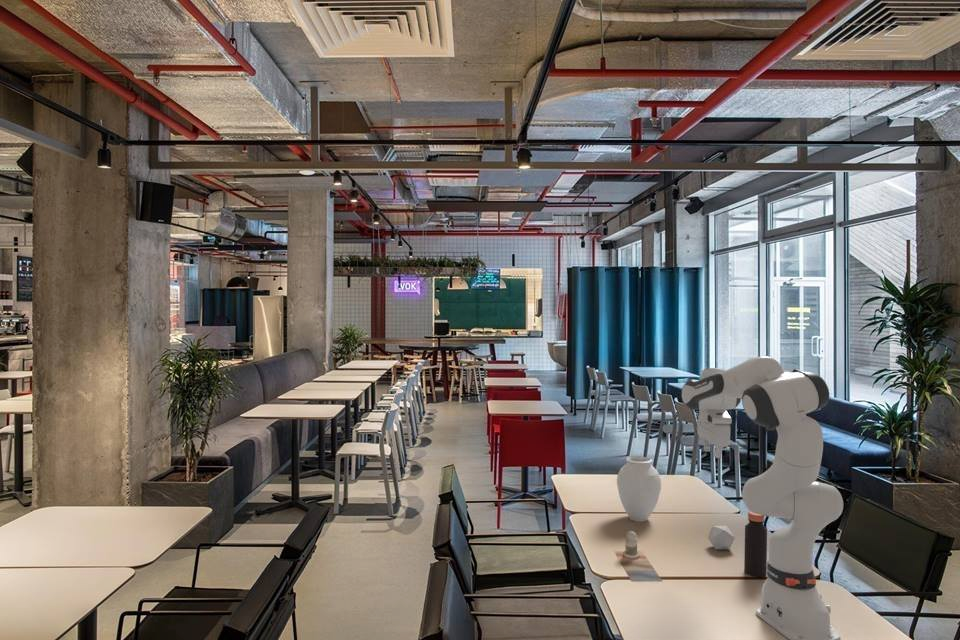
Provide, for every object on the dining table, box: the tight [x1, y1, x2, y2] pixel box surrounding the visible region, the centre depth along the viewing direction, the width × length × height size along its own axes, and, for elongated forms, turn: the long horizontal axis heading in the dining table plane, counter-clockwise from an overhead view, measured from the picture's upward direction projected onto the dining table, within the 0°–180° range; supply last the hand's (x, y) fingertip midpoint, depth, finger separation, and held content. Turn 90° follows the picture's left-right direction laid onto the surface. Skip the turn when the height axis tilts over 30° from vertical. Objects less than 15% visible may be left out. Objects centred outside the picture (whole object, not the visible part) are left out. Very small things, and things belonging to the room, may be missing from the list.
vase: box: [616, 455, 662, 522], centre depth 256 cm, size 18×18×25 cm
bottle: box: [743, 511, 768, 578], centre depth 205 cm, size 7×7×20 cm
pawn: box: [623, 530, 639, 559], centre depth 217 cm, size 6×6×9 cm
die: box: [707, 525, 736, 551], centre depth 226 cm, size 8×9×10 cm
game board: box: [614, 550, 663, 582], centre depth 210 cm, size 24×10×1 cm, turn 1°
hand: (712, 454), depth 214 cm, fingers open, 8 cm apart
